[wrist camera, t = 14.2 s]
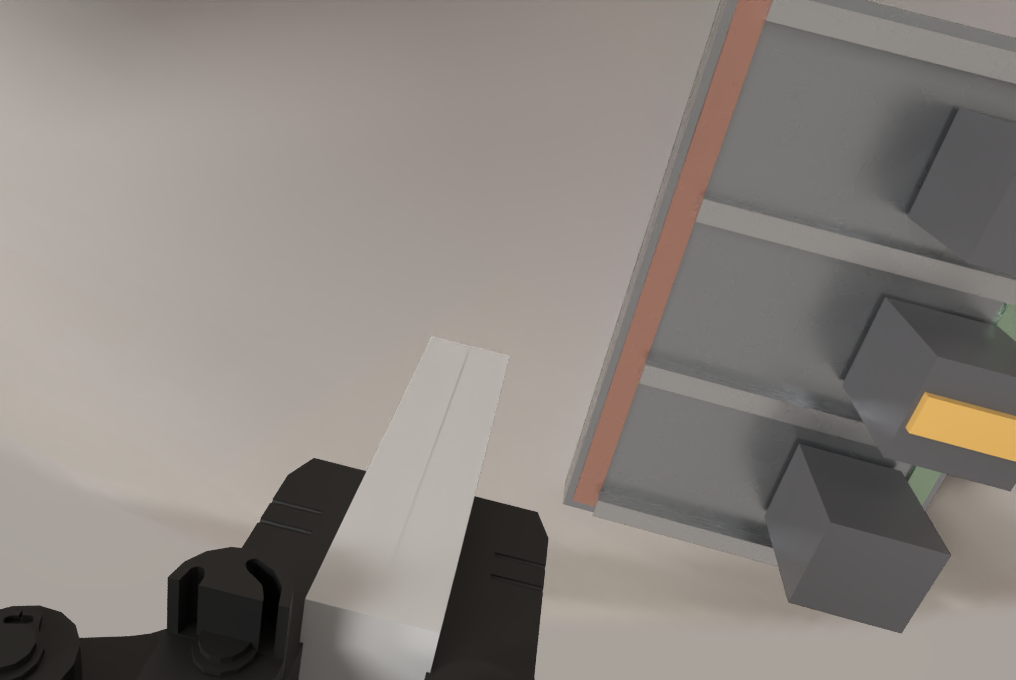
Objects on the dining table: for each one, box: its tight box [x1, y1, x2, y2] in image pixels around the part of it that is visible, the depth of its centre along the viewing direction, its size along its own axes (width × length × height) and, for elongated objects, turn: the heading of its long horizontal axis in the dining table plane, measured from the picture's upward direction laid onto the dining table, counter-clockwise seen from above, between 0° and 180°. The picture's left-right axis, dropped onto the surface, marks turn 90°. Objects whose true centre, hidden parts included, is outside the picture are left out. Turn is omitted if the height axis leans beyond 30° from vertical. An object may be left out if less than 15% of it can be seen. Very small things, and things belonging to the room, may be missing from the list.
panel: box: [563, 0, 1016, 566], centre depth 34 cm, size 17×26×3 cm, turn 167°
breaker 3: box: [764, 444, 951, 633], centre depth 34 cm, size 5×4×6 cm
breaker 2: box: [842, 297, 1016, 491], centre depth 31 cm, size 5×4×6 cm
